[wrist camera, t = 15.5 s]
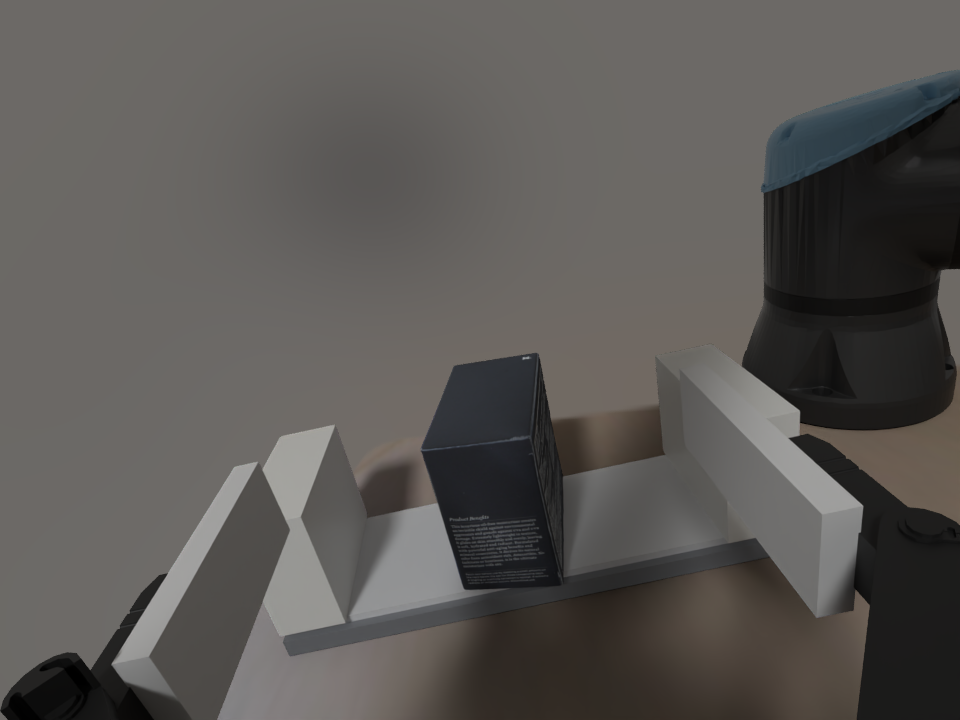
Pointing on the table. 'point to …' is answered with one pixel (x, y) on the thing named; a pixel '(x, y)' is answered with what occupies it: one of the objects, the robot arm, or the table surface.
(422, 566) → the panel
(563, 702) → the table surface
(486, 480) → the small box
